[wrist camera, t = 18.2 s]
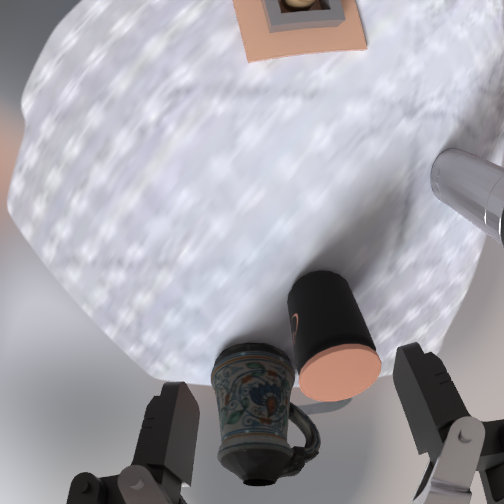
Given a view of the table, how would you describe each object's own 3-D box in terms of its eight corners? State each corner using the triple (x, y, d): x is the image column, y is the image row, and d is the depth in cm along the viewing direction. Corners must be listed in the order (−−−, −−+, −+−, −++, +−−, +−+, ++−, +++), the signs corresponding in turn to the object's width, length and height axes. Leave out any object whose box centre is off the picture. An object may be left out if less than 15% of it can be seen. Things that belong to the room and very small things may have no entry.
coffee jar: (277, 280, 49) (287, 366, 33) (340, 257, 47) (377, 336, 31) (297, 326, 53) (311, 409, 37) (354, 306, 51) (385, 385, 35)
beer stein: (201, 347, 56) (181, 465, 34) (303, 330, 54) (323, 454, 32) (225, 395, 63) (218, 495, 41) (311, 383, 61) (326, 486, 39)
